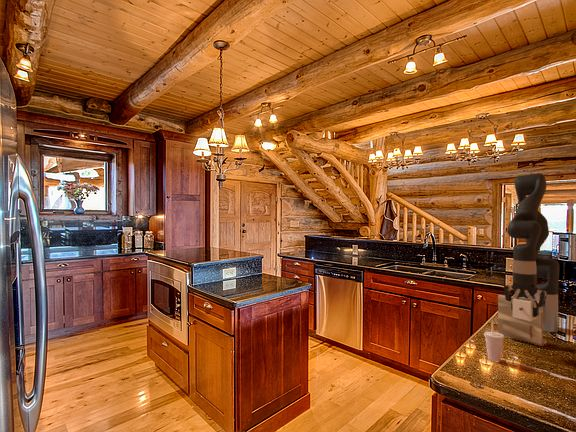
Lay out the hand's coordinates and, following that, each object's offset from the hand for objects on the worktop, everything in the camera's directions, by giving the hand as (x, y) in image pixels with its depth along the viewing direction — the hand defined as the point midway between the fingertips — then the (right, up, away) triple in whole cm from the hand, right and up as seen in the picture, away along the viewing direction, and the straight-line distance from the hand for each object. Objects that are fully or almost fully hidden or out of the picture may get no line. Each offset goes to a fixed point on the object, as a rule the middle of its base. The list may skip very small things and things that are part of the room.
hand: (524, 314), depth 126 cm
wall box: (0, -1, 0) cm, 1 cm away
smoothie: (-16, -15, -6) cm, 23 cm away
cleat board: (+8, -15, +13) cm, 21 cm away
